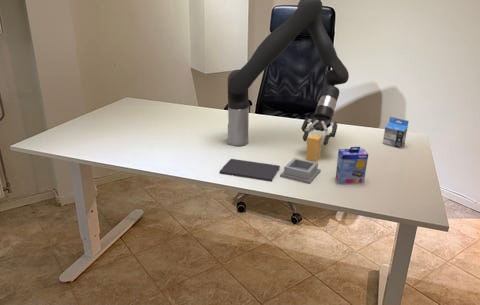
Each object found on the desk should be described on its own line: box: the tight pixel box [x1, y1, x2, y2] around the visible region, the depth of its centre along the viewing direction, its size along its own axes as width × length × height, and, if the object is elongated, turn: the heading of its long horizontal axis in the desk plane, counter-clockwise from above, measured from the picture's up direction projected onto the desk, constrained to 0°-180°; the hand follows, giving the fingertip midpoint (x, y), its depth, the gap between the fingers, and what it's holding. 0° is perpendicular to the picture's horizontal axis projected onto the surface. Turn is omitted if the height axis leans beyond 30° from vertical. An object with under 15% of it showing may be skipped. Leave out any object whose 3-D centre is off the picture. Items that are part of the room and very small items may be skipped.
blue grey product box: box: [382, 116, 409, 149], centre depth 179 cm, size 9×4×12 cm, turn 47°
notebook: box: [219, 158, 281, 183], centre depth 156 cm, size 13×2×21 cm
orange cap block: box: [305, 133, 323, 163], centre depth 165 cm, size 4×4×10 cm
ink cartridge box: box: [335, 146, 369, 185], centre depth 146 cm, size 10×6×14 cm, turn 95°
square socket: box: [279, 157, 322, 185], centre depth 153 cm, size 12×12×4 cm
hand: (314, 142), depth 164 cm, fingers open, 8 cm apart
